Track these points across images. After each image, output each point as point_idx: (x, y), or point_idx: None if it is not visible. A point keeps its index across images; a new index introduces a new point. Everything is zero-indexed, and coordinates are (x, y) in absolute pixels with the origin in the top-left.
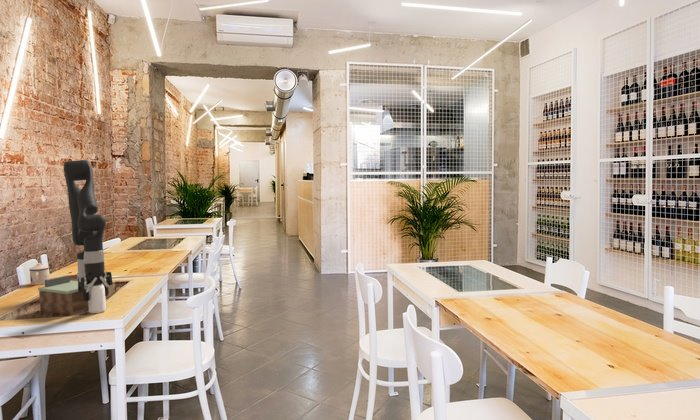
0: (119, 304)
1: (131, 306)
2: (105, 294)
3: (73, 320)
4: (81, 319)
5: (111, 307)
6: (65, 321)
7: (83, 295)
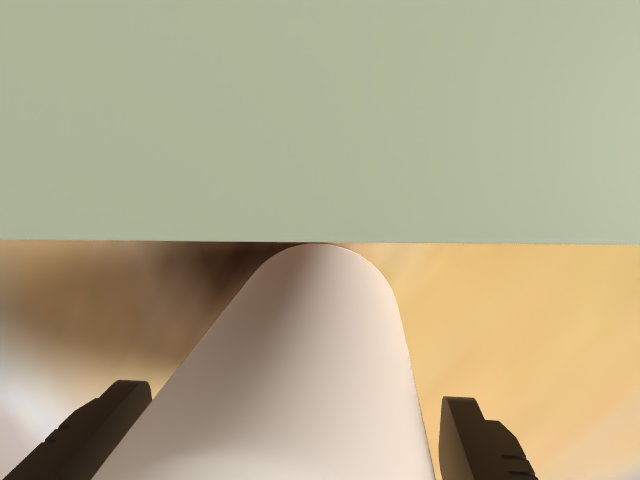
0: (621, 299)
1: (573, 475)
2: (444, 465)
3: (62, 348)
4: (110, 385)
5: (488, 318)
6: (14, 310)
7: (29, 456)
